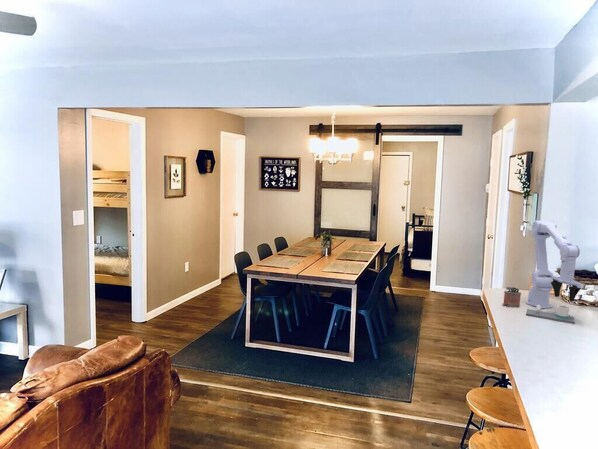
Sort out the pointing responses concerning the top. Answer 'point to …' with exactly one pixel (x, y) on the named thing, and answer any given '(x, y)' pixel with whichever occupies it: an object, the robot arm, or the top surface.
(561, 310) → the sleeve
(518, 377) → the top surface
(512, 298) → the lighter
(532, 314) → the pin board
